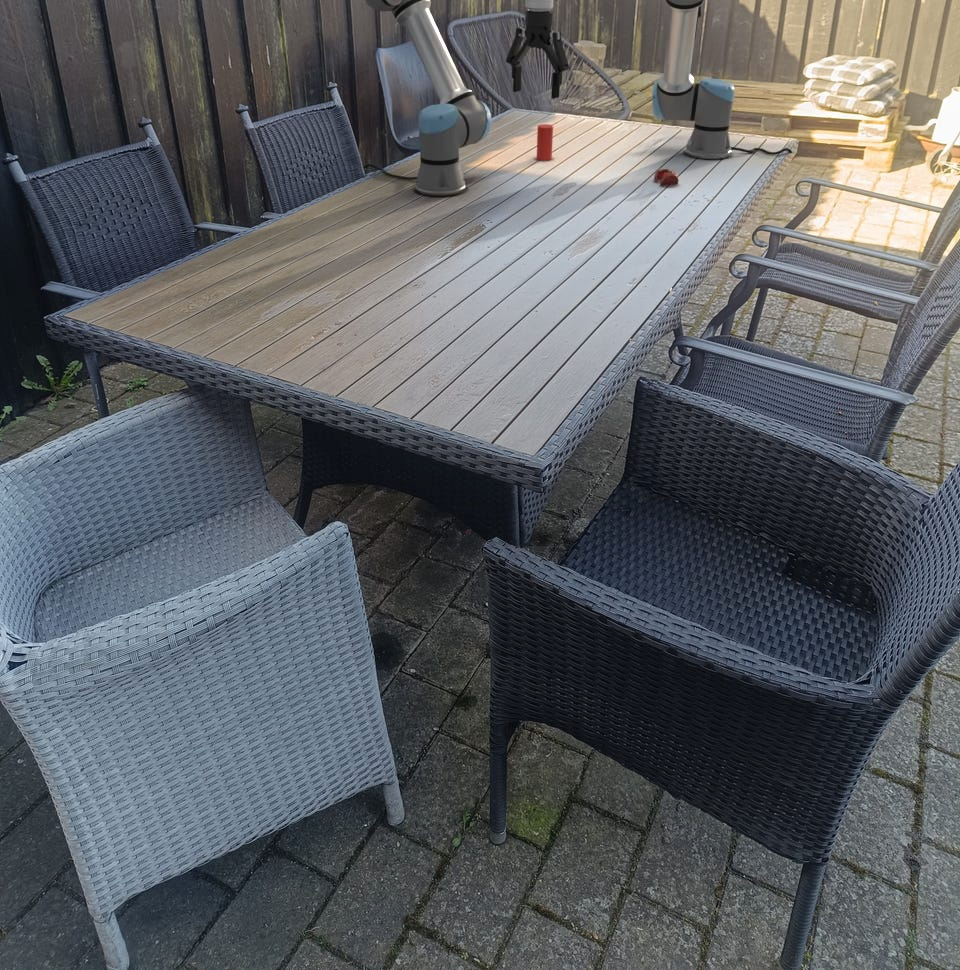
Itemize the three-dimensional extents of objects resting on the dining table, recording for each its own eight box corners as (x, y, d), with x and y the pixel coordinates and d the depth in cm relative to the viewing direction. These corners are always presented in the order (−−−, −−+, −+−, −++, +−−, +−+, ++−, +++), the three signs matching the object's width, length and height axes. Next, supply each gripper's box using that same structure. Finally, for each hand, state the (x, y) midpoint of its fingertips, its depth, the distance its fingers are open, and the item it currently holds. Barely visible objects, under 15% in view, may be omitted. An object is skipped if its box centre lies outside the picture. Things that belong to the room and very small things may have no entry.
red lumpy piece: (669, 164, 265) (680, 172, 259) (668, 178, 267) (679, 185, 261) (653, 166, 264) (664, 174, 258) (652, 180, 266) (662, 188, 260)
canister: (554, 159, 286) (556, 126, 280) (540, 161, 285) (542, 128, 278) (547, 156, 290) (548, 123, 284) (533, 157, 289) (535, 125, 282)
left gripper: (585, 12, 223) (579, 98, 235) (511, 4, 236) (509, 86, 248) (569, 14, 218) (563, 102, 231) (494, 6, 231) (493, 90, 244)
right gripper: (672, -36, 298) (665, 31, 310) (694, -30, 277) (685, 42, 290) (693, -36, 298) (684, 31, 311) (716, -30, 278) (706, 42, 290)
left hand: (535, 94), depth 240 cm, fingers open, 13 cm apart
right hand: (685, 36), depth 300 cm, fingers open, 13 cm apart
